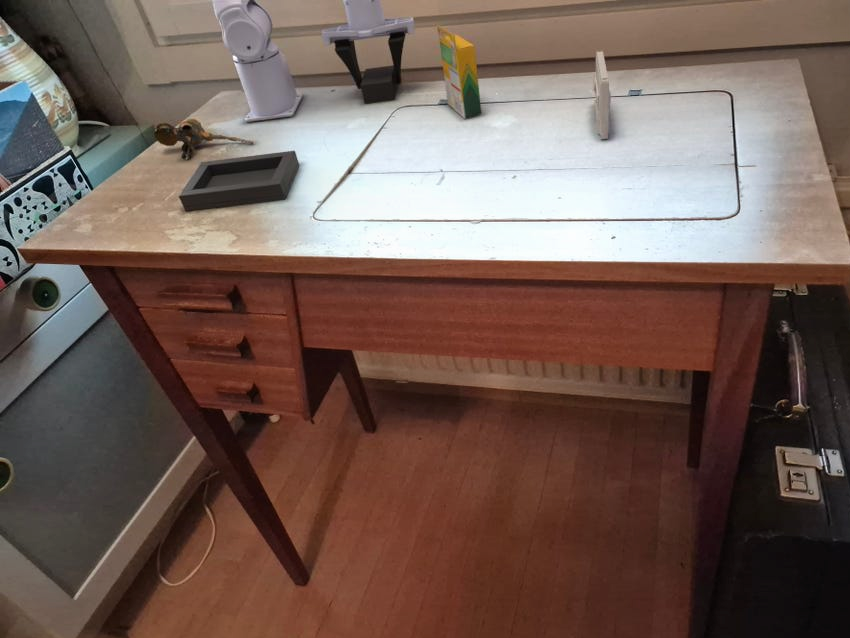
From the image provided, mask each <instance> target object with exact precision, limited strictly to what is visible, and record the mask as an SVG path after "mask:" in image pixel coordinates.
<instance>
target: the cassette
mask: <svg viewBox="0 0 850 638" xmlns="http://www.w3.org/2000/svg"><path fill="white" fill-rule="evenodd" d="M595 52H596V53H595V73H594V74H593V91H594V98H595V99H594V108H593V109H594V110H593V111H594V117H595V118H594V119H595V125H596V126H595V127H596V133H597V135H599V136H600V140H608V139H609V135H610V134H611V133H610V114H609V113H610V110H611V103H612V95H611V93H612V92H611V91H610V80H609V76H608V71H607V65H606V59H605V56H604V50H603V49H602V50H596V51H595Z"/></svg>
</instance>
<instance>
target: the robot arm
mask: <svg viewBox="0 0 850 638" xmlns="http://www.w3.org/2000/svg"><path fill="white" fill-rule="evenodd" d="M211 1H212V5H213V12H214V14H215V17H216V19H217V21H218V22H219V25H220V27H221V37H222V40H223V43H224V46H225V48H226V49H227V51H228V52H229V53H230V54H231V57H232V60H233V63H234V66H235V69H236V72H237V74H238V78H239V80H240V83H241V86H242V89H243V91H244V96H245V97H246V101H247V103H248V106H249V109H250V110H249V112H248V113H247V114H246V116H245V117H244V121H245V122H246V123H250V122H257V121H265V120H273V119H280V118H289V117H293V116H294V114H295V113H296V110H297V108H298V106H299V105H300V102H301V101H302V98H303V97H304V95H303V93H302V92H301V93H300V92H299V93H297V90H296V88H295V84H294V80H293V77H292V74H291V70H290V66H289V63H288V60H287V58H286V56H285V55H284V54H283V52H281V50H279V46H278V45H277V44H276V43H274V41H273V40H272V39H271V36H272V34H273V25H274V24H273V20H272V17H271V16H270V13H269V12H268V11H267V10H266V8H264V6H262V5H261V4H260V3H258V1H257V0H211ZM342 3H343V7H344V11H345V16H346V20H347V24H343V25H338V26H334V27H329V28H323V29H322V30H321V33H320V34H321V38H322V42H323V46H330V45H332V44H334V47H335V48H334V53H336V55H337V56H338V57H339V59H340V60H341V61H342V63H343V64H344V65H345V67H346V68H347V70H348V71H349V73H350V75H351V77H352V78H353V81H354V84H355V85H356V88H357V90H361V87H360V85H361V82H362V78H363V76H362V72H361V69H360V65H359V61H358V56H357V51H356V44H355V41H361V40H367V39H375V38H382V37H388V40H387V44H388V49H389V52H390V55H391V59H392V64H393V65H394V73H395V80H396V84H398V85H402V79H403V78H402V59H403V50H404V44H405V41H406V35H414V34H415V33H416V26H415V25H416V24H415V21H414V17H413V16H411V17H399V18H396V17H395V18H385V15H384V8H383V3H382V0H342Z"/></svg>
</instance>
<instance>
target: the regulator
mask: <svg viewBox="0 0 850 638" xmlns="http://www.w3.org/2000/svg"><path fill="white" fill-rule="evenodd" d="M153 137H154V139H156V141H157V142H158V143H159V144H161V145H164V146H166V147H173V146H175V145H176V144H177V143H178V142H182V145H181V147H180V150H181V151H182V153H181V159H182V160H186V161H187V160H189V159H190V155H192V154H194V152H195V149H194V148H199V146H200V145H201V144H202V143H203V141H206V142H213V140H224V141H225V140H228V141H232V142H241V143H247V144H252V145H253V144H254V141H253V140H252V141H251V140H248V139H245V138H238V137H236V136H225V135H222V134H213V133H212V132H209V131H208V132H206V131H205V129H204V127H203V125H202V122H201V121H199V120H198V119H196V118H188V119H186V121H182V122H180V124H179V125H178V127H175V126H173V125H171V124H169V123H167V122H165V123H159V124H158V125H156V127H155V130H154V132H153Z"/></svg>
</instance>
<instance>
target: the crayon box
mask: <svg viewBox="0 0 850 638" xmlns="http://www.w3.org/2000/svg"><path fill="white" fill-rule="evenodd" d="M436 29H437V35H438V40H439V41H438V42H439V47H440V55H441V63H442V69H443V77H444V85H445V86H444V87H445V92H446V99H447V101H446V102H447V106H449V107H450V108H452V109H453V110H454V111H455V112H456V113H457V114H458V115H460V116H461V117H462V118H463V119H464V120H466V119H470V118H473V117H476V116H480V115H482V105H481V98H480V97H481V95H480V87H479V77H478V68H477V59H476V48H475V45H474V44H472V43H471V42H469V41H467V40H465V39H464V38H462V37H461V36H459V35H458V34H453V33H452V32H450V31H449V30H447V29H445V28H444V27H442V26H440V25H439V24H436ZM444 35H446V36H444Z"/></svg>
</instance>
